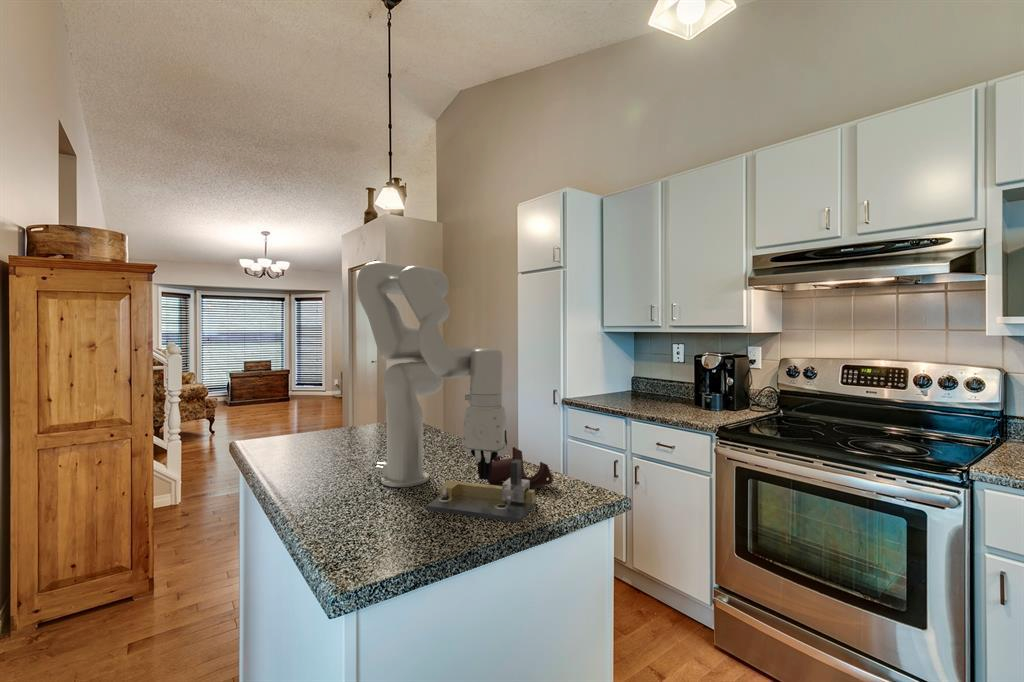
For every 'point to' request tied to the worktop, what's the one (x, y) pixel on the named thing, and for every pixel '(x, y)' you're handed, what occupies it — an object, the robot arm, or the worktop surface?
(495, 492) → the beam
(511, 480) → the slider
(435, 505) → the hole plate
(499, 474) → the bracket
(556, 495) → the worktop surface
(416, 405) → the robot arm
